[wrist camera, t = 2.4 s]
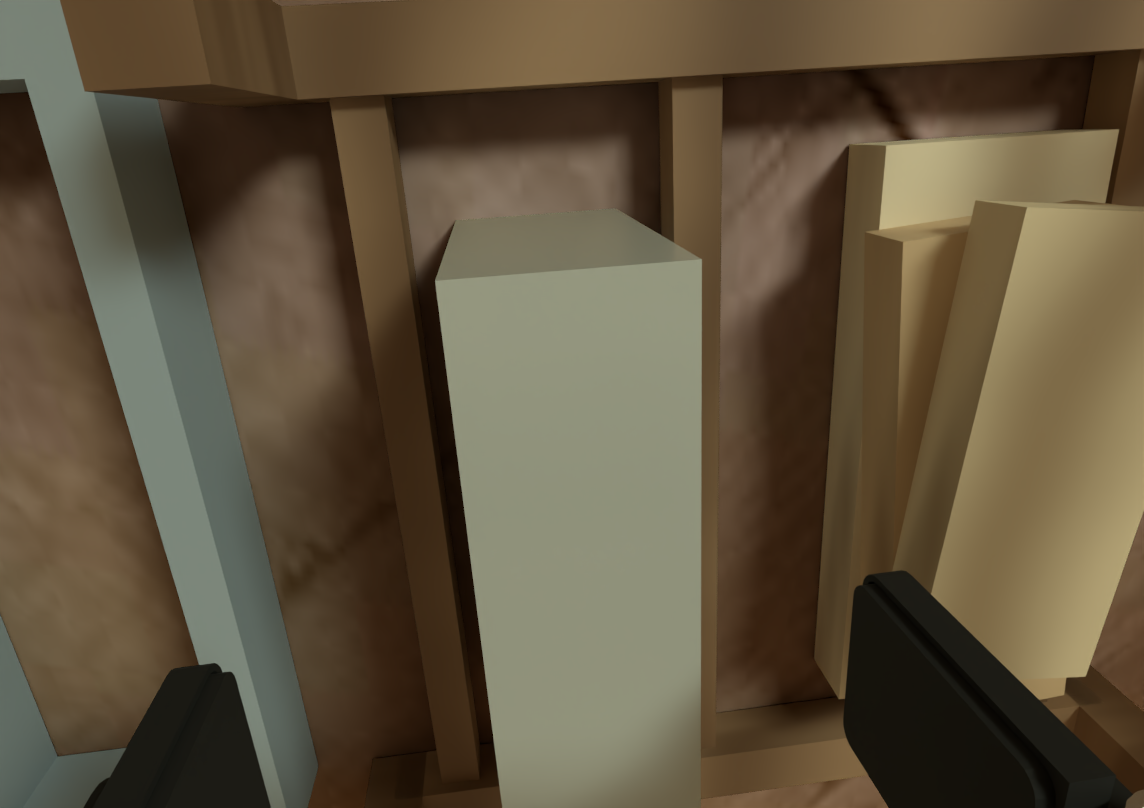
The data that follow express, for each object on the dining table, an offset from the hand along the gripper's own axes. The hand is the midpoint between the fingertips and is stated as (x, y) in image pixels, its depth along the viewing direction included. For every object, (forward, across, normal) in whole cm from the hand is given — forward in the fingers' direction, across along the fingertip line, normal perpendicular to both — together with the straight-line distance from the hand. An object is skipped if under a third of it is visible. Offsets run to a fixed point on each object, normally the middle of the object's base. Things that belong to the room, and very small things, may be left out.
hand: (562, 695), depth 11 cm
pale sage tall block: (+8, -1, 0) cm, 8 cm away
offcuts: (+7, -10, 0) cm, 13 cm away
